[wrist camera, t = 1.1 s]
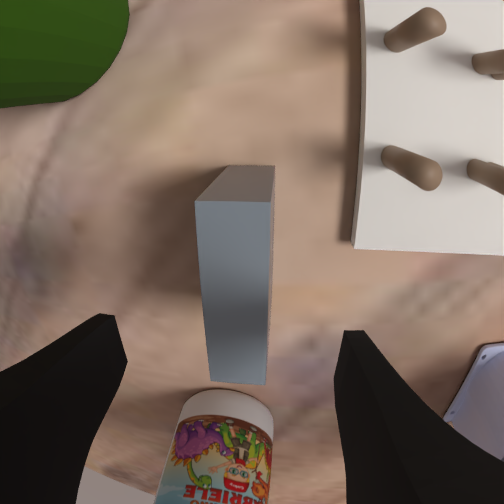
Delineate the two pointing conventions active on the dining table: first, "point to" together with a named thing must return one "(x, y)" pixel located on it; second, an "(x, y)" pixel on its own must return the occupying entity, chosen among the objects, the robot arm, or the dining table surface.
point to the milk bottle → (219, 452)
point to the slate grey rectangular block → (237, 271)
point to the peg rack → (431, 127)
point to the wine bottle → (57, 47)
